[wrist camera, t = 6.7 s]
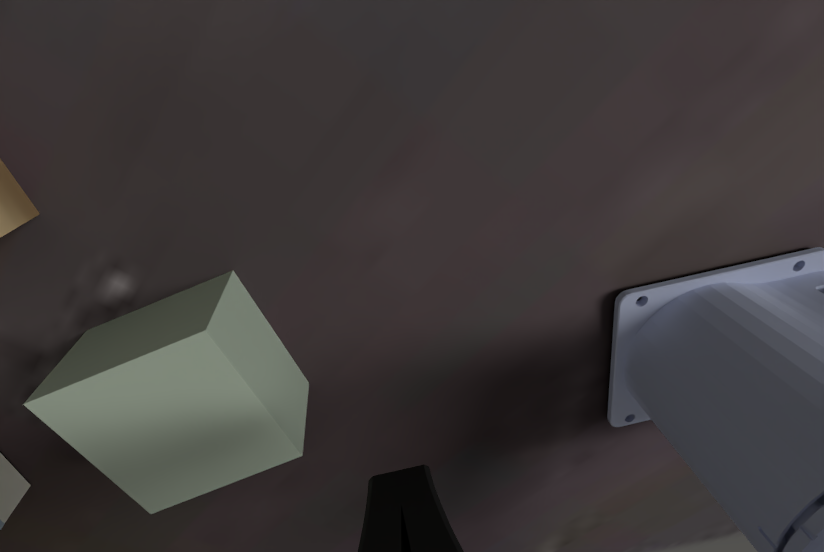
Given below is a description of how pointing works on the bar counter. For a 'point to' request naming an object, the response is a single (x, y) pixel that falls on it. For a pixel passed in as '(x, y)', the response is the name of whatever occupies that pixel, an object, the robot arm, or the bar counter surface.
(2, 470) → the bar
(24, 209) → the oak block
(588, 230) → the bar counter surface
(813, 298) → the robot arm
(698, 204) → the bar counter surface
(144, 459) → the sage block
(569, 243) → the bar counter surface
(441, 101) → the bar counter surface
